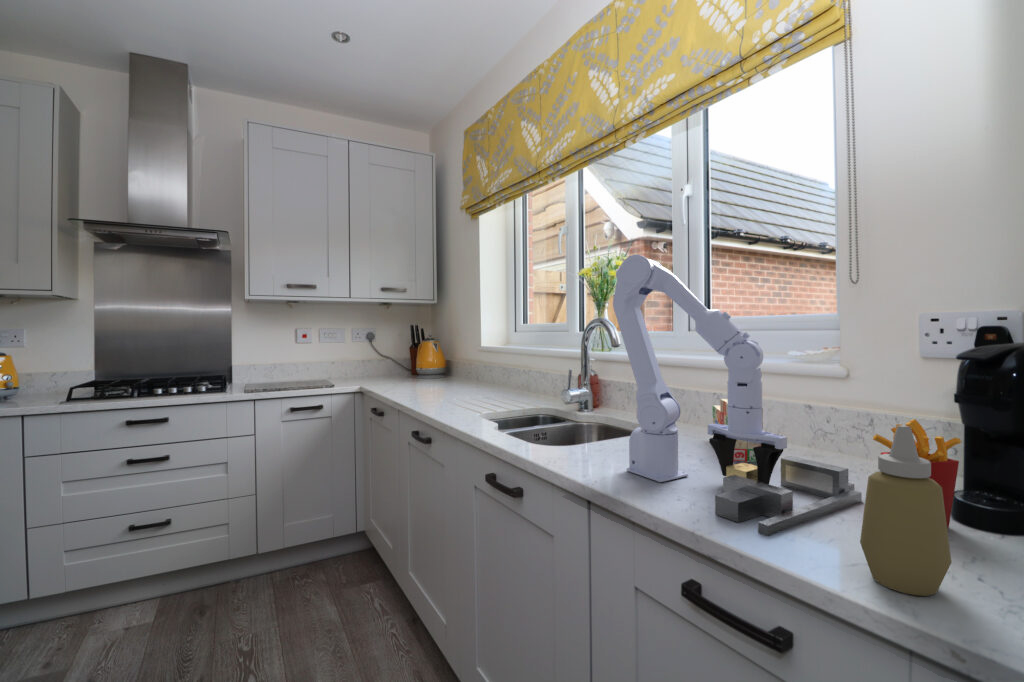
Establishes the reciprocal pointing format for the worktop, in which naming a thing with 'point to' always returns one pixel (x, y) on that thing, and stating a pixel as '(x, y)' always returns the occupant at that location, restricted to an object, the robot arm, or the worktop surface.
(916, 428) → the french fries
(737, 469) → the brass block
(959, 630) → the worktop surface
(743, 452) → the stack of blocks
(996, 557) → the worktop surface
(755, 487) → the sliding jaw
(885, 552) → the squeeze bottle
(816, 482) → the vise
